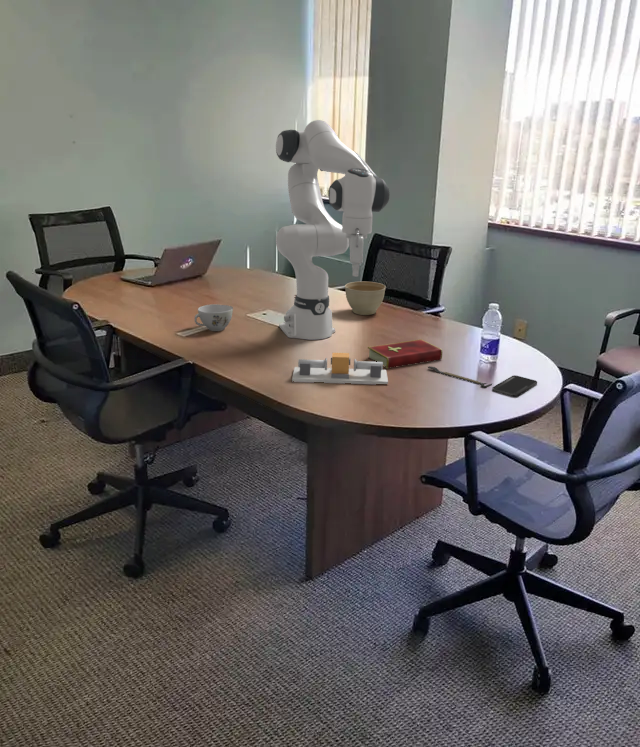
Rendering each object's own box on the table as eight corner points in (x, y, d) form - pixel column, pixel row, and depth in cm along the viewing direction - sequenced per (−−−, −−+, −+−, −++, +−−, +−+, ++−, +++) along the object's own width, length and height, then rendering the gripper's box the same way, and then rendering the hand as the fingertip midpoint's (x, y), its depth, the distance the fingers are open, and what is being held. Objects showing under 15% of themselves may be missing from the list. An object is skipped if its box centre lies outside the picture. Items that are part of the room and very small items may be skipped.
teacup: (222, 322, 251) (221, 301, 248) (240, 330, 242) (239, 308, 239) (186, 329, 242) (185, 307, 239) (203, 337, 233) (202, 315, 230)
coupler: (330, 376, 197) (330, 356, 195) (330, 371, 201) (331, 352, 199) (349, 376, 197) (350, 357, 195) (349, 372, 201) (350, 353, 198)
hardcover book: (441, 361, 216) (442, 348, 215) (386, 370, 207) (387, 357, 206) (420, 350, 226) (421, 338, 225) (367, 358, 217) (367, 346, 216)
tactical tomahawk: (496, 386, 198) (497, 382, 197) (484, 390, 193) (485, 386, 193) (437, 367, 211) (438, 363, 211) (425, 370, 206) (426, 367, 206)
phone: (490, 388, 191) (514, 374, 202) (490, 391, 192) (513, 378, 202) (516, 395, 186) (538, 381, 197) (516, 399, 187) (538, 384, 198)
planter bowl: (335, 311, 269) (336, 285, 265) (364, 305, 279) (365, 279, 275) (364, 320, 258) (365, 292, 254) (392, 313, 268) (394, 286, 264)
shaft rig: (292, 381, 195) (292, 363, 193) (294, 370, 204) (294, 352, 202) (387, 384, 194) (389, 366, 192) (386, 372, 203) (387, 354, 201)
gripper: (368, 232, 187) (366, 280, 192) (366, 221, 206) (364, 266, 211) (346, 231, 187) (344, 280, 192) (346, 221, 206) (344, 265, 211)
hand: (355, 272), depth 202 cm, fingers open, 8 cm apart
